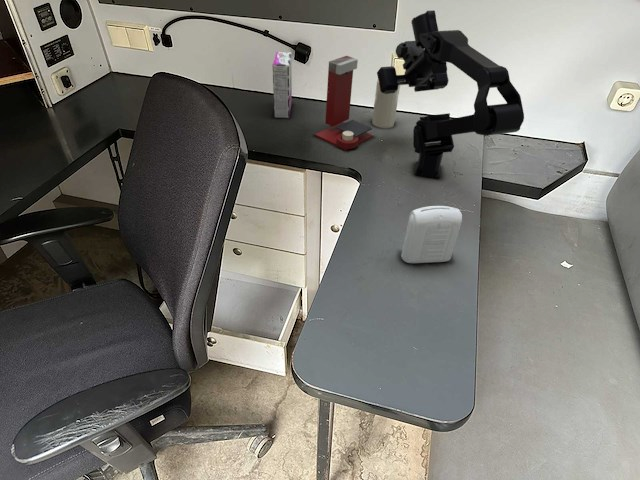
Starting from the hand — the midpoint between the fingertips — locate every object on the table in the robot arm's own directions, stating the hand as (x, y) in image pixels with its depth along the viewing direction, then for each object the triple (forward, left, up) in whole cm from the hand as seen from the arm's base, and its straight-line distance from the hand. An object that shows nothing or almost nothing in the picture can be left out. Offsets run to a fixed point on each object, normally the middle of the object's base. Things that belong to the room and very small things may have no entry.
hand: (400, 91), depth 131 cm
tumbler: (+7, +4, -13) cm, 15 cm away
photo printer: (-53, -12, -13) cm, 56 cm away
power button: (-11, +12, -11) cm, 20 cm away
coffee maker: (-6, +14, -13) cm, 20 cm away
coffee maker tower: (-4, +13, -10) cm, 17 cm away
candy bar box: (+6, +35, -13) cm, 38 cm away
